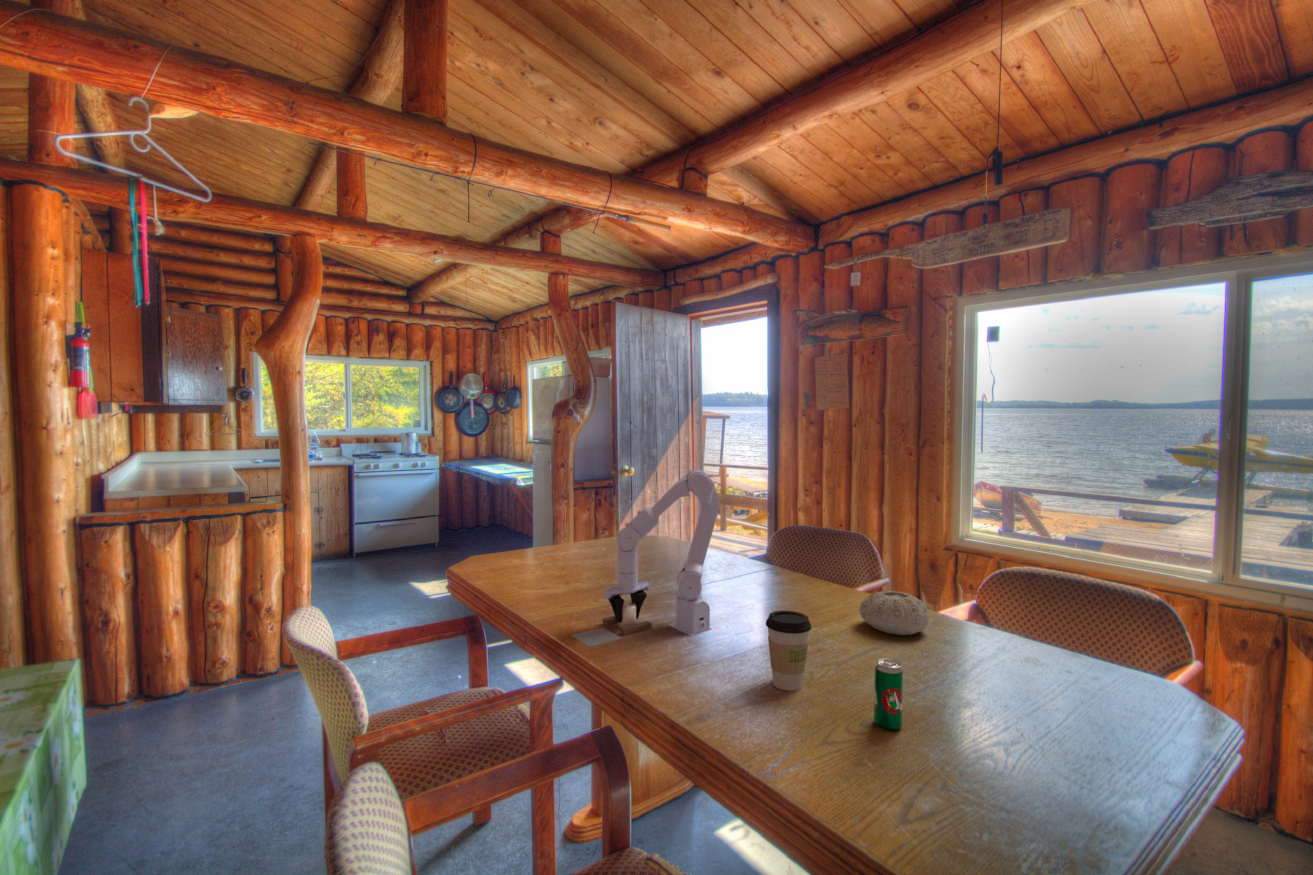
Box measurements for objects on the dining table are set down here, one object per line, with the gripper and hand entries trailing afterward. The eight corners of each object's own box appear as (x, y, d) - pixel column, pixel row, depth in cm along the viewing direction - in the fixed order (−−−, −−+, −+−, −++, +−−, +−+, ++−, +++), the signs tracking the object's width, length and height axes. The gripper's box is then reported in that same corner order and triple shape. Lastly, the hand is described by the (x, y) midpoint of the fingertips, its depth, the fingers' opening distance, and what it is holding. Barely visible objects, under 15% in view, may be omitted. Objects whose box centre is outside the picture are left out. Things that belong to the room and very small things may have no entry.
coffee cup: (815, 694, 126) (816, 624, 125) (768, 694, 126) (769, 624, 125) (804, 674, 135) (805, 609, 135) (761, 674, 136) (762, 609, 135)
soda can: (878, 715, 117) (880, 655, 117) (905, 724, 114) (906, 662, 113) (869, 725, 113) (870, 663, 113) (897, 734, 110) (898, 670, 109)
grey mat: (622, 639, 156) (622, 638, 156) (589, 648, 150) (589, 646, 150) (602, 629, 164) (602, 627, 164) (570, 636, 158) (570, 635, 158)
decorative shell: (862, 637, 159) (863, 600, 159) (856, 616, 177) (857, 582, 176) (934, 643, 155) (935, 606, 155) (921, 621, 172) (922, 587, 172)
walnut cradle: (651, 630, 164) (651, 622, 164) (624, 637, 158) (624, 629, 158) (629, 619, 172) (629, 612, 172) (602, 625, 167) (602, 618, 167)
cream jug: (639, 626, 165) (639, 605, 165) (624, 630, 162) (624, 608, 162) (625, 619, 171) (625, 598, 170) (610, 623, 168) (610, 601, 167)
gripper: (640, 564, 172) (640, 610, 173) (597, 572, 164) (597, 620, 164) (654, 569, 167) (654, 617, 167) (611, 577, 158) (610, 628, 158)
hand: (627, 619), depth 165 cm, fingers closed on cream jug, 5 cm apart
